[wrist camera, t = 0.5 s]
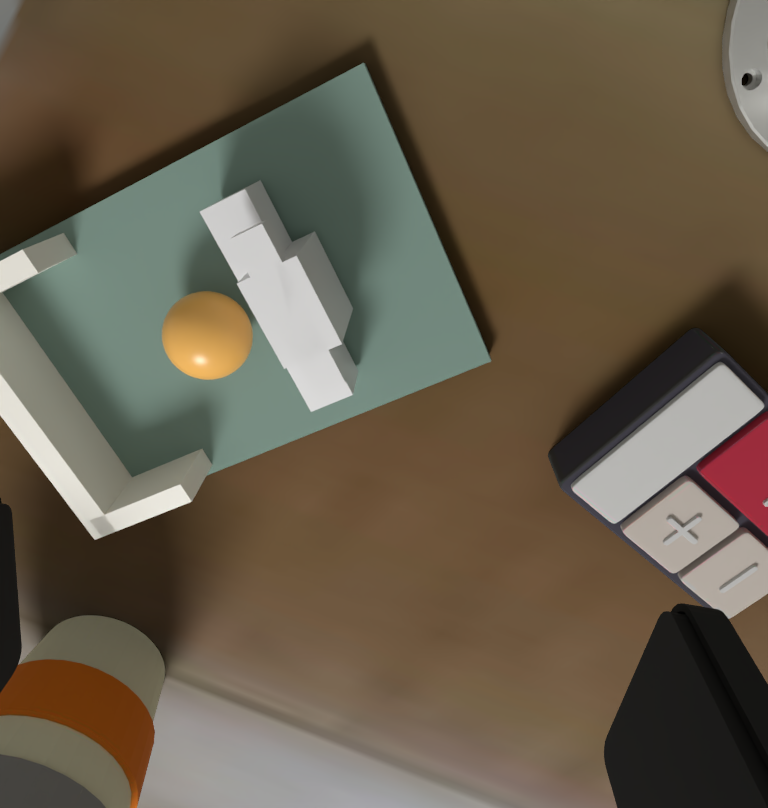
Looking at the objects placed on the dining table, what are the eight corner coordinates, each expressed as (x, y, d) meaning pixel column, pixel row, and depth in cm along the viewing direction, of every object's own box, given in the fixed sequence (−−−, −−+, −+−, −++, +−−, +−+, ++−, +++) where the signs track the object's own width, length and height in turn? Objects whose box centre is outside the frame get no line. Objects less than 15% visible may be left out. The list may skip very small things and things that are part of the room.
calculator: (727, 632, 41) (559, 494, 37) (699, 583, 45) (543, 453, 41) (895, 521, 37) (729, 353, 33) (848, 478, 41) (694, 322, 37)
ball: (234, 267, 36) (210, 290, 31) (275, 341, 37) (258, 373, 33) (162, 301, 37) (130, 328, 32) (206, 372, 38) (180, 407, 34)
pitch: (365, 63, 32) (363, 62, 31) (489, 354, 38) (491, 361, 37) (-29, 270, 37) (-40, 275, 36) (133, 498, 43) (127, 507, 42)
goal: (63, 232, 35) (22, 249, 32) (212, 464, 41) (191, 501, 37) (-34, 283, 37) (-84, 304, 33) (123, 501, 42) (94, 539, 38)
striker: (283, 168, 33) (258, 182, 28) (379, 362, 37) (373, 404, 32) (218, 201, 34) (183, 220, 29) (319, 387, 38) (304, 432, 33)
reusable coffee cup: (205, 623, 47) (117, 838, 34) (174, 741, 53) (87, 969, 39) (24, 573, 46) (-141, 776, 33) (11, 699, 51) (-136, 919, 38)
